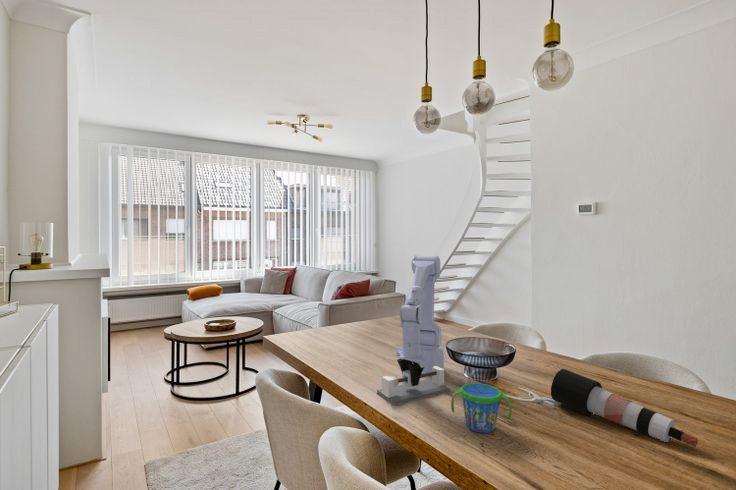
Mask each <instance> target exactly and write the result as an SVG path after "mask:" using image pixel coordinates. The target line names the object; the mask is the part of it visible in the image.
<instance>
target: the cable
mask: <svg viewBox="0 0 736 490" xmlns="http://www.w3.org/2000/svg"><path fill="white" fill-rule="evenodd" d="M550 395H551V399H553V400H555V401H557V402H559V404H560V405H561V404H562V405H564V406H566V407H568V408H570V409H572V410H574V411H577V412H578V413H580V414H583V415H584V416H587V417H590V415H591V416H592V414H593V413H594V414H593V415H596V416H600V417H602V418H604V419H606V420H608V421H611V422H614V423H615V424H618V425H620V426H622V427H626V428H627V427H628V428H630V429H632V430H634V431H636V432H640V433H642V434H644V435H647V436H649V435H650V436H649V437H652V438H654V437H655V438H654V439H656V438H657V439H656V440H658V439H660V440H659V441H661V440H662V441H661V442H663V441H664V442H663V443H665V442H666V441H667V440H669V439H670V438H671V437H672V438H671V439H675V440H677V441H679V442H683V443H686V444H687V445H691V446H692V447H695V448H696V447H697V445H698V442H699V439H698V437H696V436H693V435H691V434H688V433H686V432H684V431H682V430H680V429H678V428H676V427H675V426H676V425H675V423H676V422H675V420H674V419H672V418H671V417H668V416H665V415H663V414H660V413H658V412H656V411H653V410H651V409H648V408H646V407H645V406H642V405H640V404H637V403H635V402H633V400H630V399H627V398H625V397H622V396H620V395H617V394H615V393H613V392H610V391H607V390H606V389H604V388H603V387H602V384H601V382H599V381H597V380H594V379H592V378H590V377H586V376H584V375H581V374H578V373H577V372H573V371H571V370H568V369H565V368H561V369H560V370H558V371H557V372H556V374H555V376H554V377H553V379H552V382H551V386H550Z"/></svg>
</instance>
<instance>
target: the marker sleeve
mask: <svg viewBox="0 0 736 490" xmlns="http://www.w3.org/2000/svg"><path fill="white" fill-rule="evenodd" d="M401 375H402V377H401V378H405V377H408V381H405V382H401V383H402V385H403V384H404V385H406V386H408V387H414V386H412V384H411V375H410V370H406V371H401ZM420 381H421V379H420V380H419V384H418V385H420ZM418 385H417V386H418Z"/></svg>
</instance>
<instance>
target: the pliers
mask: <svg viewBox="0 0 736 490" xmlns="http://www.w3.org/2000/svg"><path fill="white" fill-rule="evenodd" d="M517 389H518V390H520V391H522V392H525V393H527V394H528V396H529V397H526V396H525V397H524V396H521V397H518V396H517V397H516V396H512V395H508V394H505V393H504V394H505V395H506V396H507V397H508V399H511V400H515V401H519V402H525V403H535V404H536V403H537V404H538V403H539V404H541V405H542V406H545V407H548V408H551V409H555V406H556V407H559V406H560V405H559V404H560V403H559V402H557V401H555V400H553V399H552V398H549V397H544V396H540V395H538V394H537V393H536V392H533V391H531V390H528V389H526V388H522V387H520V386H519V387H517Z"/></svg>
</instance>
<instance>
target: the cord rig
mask: <svg viewBox="0 0 736 490" xmlns="http://www.w3.org/2000/svg"><path fill="white" fill-rule="evenodd" d="M444 369H445V368H444ZM444 369H442V368H440V367H438V366H434V367H432V372H429V373H424V374H422V373H421V376H420V379H423V378H426V379H423V380H420V385H418V386H414V387H408V386H406V385H404V384H403V383H402V382H405V381H408V377H405V378H402V377H400V378H398V377H397V376H392V375H391V376H389V375H384V376H381V389H377V390H376V394H377V395H378V396H379V397H381V398H383V399H384V400H385V401H387V402H388V403H390V404H391V405H393V406H396V405H400V404H404V403H409V402H413V401H417V400H421V399H425V398H429V397H433V396H437V395H440V394H441V395H442V394H446V393H449V392H451V388H450V387H448V386H447V385H446V384H445V371H444ZM428 377H431V378H428ZM399 383H402V384H399Z"/></svg>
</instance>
